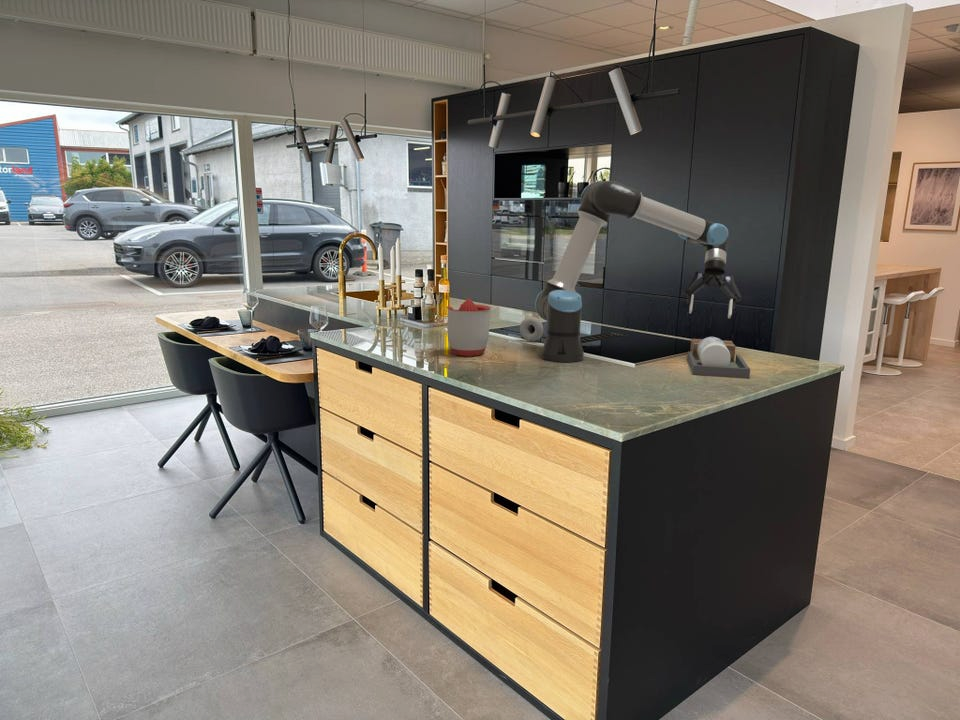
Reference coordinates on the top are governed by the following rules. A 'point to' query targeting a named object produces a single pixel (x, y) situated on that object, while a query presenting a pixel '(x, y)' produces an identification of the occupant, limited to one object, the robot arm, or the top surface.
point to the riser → (728, 344)
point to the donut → (537, 326)
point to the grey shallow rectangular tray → (720, 368)
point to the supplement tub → (713, 352)
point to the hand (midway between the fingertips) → (709, 314)
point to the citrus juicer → (468, 328)
